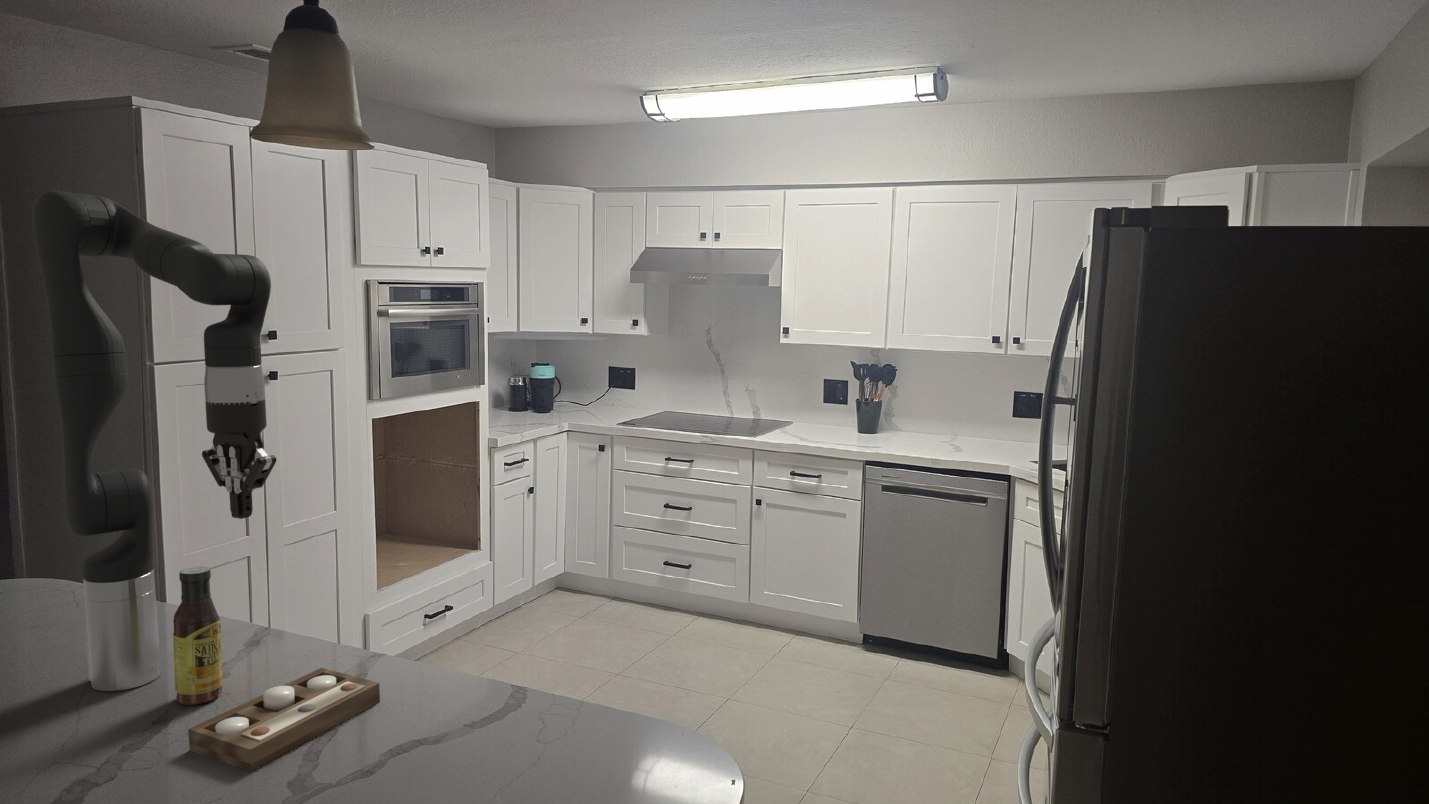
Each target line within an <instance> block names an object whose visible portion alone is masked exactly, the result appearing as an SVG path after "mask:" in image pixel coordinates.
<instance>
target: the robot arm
mask: <svg viewBox="0 0 1429 804" xmlns="http://www.w3.org/2000/svg"><path fill="white" fill-rule="evenodd" d="M32 232H33V238H34V244H35V248H36V252H37V257H38V263H39V267H40V272H41V276H42V277H41V278H42V282H43V286H44V290H45V297H46V305H47V311H48V320H49V331H50V342H51V344H50V345H51V356H52V367H53V377H54V385H55V391H56V397H57V398H56V399H57V405H58V412H59V419H60V428H61V439H62V466H63V468H62V469H63V470H62V471H63V473H62V474H63V497H64V499H63V500H64V510H65V517H66V521H67V525H68V527H69V529H70V531H71V533H72V534H74V535H75V536H77V537H88V536H89V537H91V536H96V535H102V534H109V533H114V532H121V531H122V533H121V534H120V535H119V537H117V539H116V540H114V541H112V542H111V543H110V544H109V545H107V546H105V547H103V548H102V549H100V550H98V551H95V552H94V553H92V554H90V555H88V556H87V557H86V558H85V559H84V560H83V562H82V566H81V571H82V572H81V573H82V581H83V593H84V596H83V597H84V605H85V618H86V619H85V620H86V621H85V623H84V632H85V633H84V634H85V637H84V638H85V647H86V660H87V673H88V681H90V684H91V687H92V688H93V690H95V691H101V692H115V691H117V692H118V691H125V690H130V689H133V688H137V687H140V686H143V685H147V684H148V683H151V682H153V681H154V680H156V679H157V678H158V677H159V676H160V675H161V671H162V670H161V659H160V657H161V656H160V655H161V654H160V641H159V628H158V627H159V626H158V614H157V613H158V612H157V611H158V610H157V599H156V597H157V595H156V586H155V585H156V584H155V583H156V582H155V569H154V537H153V532H154V531H153V530H154V529H153V510H154V509H153V507H154V506H153V504H154V503H153V493H152V485H151V482H150V480H149V478H148V476H147V474H146V473H145V472H144V471H143V470H141V469H138V468H132V469H121V470H120V469H119V470H114V471H105V472H97V473H92V472H93V471H92V465H93V459H94V454H95V450H96V447H97V444H98V441H99V439H100V438H101V436H102V435H101V434H102V433H103V431H104V429H105V427H106V425H107V423H108V422H109V421H110V419H111V418H112V416H113V415H114V413H115V411H116V410H117V408H118V407H119V405H120V404H121V402H122V400H123V398H124V396H125V394H126V392H127V389H128V385H129V373H128V372H129V370H128V361H127V354H126V352H127V351H126V346H125V342H124V339H123V336H122V335H121V333H120V332H119V330H118V329H117V327H116V325H114V323H113V322H112V320H111V319H110V318H109V317H108V315H107V314H106V313H105V312H104V310H103V309H102V308H101V306H100V305H99V304H98V302H97V301H96V299H94V297H93V295H92V294H91V292H90V290H89V288H88V285H87V284H86V280H85V277H84V273H83V270H82V269H83V268H82V266H81V259H80V256H82V257H93V258H95V257H96V258H97V257H98V258H99V257H117V258H118V257H119V258H125V259H131V260H133V261H134V263H135V264H136V266H137V267H138V268H139V269H140V270H142V271H143V272H144V273H145V274H147V275H149V276H151V277H153V278H155V279H158V280H160V281H162V282H164V283H167V284H170V285H172V286H175V287H177V289H179V290H180V291H181V292H182V293H184V295H186V296H187V297H188V298H189V299H191V300H192V301H194V302H197V303H200V304H203V305H208V306H229V310H228V313H227V316H226V318H224V319H223V320H221V321H219V322H216V323H213V324H210V325H208V326H207V327H205V329H204V332H203V351H204V366H205V372H204V381H203V383H204V384H203V385H204V402H205V403H204V404H205V418H206V419H205V420H206V421H205V422H206V429H207V432H209V433H212V434H214V435H213V438H212V446H211V447H210V449H206V450H202V452H201V456H202V459H203V460H204V463H205V464H206V466H207V467H208V470H209V471H210V473H211V475H212V476H213V478H214V480H215V482H216V484H217V486H218V487H224V488H225V489H226V491H227V492H228V493H229V509H230V513H231V517H232V519H233V518H235V519H239V520H240V519H246V518H251V516H252V514H253V491H254V490H255V489H259V488H263V486H264V485H265V483H266V482H267V479H268V477H269V476H270V474H271V472H272V470H273V468H274V467H275V466H276V463H277V457H276V456H275V455H268V453H266V450H264V447H265V444H264V441H263V438H262V435H261V434H262V431H264V430H265V429H266V427H267V408H266V390H265V389H266V386H265V377H264V373H263V365H262V349H261V333H262V329H263V327H264V322H265V317H266V314H267V313H266V312H267V308H268V305H269V302H270V301H269V300H270V296H271V292H272V291H271V290H272V283H271V281H272V279H271V276H270V273H269V270H268V268H267V266H266V265H265V263H264V262H263V261H262V260H261V259H260V258H259V257H257V256H255V255H250V254H231V253H230V254H229V253H214V252H213V251H212V250H211V249H210V248H209V247H208V246H207V245H206V244H203V243H201V242H200V241H197V240H194V239H192V238H189V237H186V236H184V235H180V234H179V233H176V232H173V231H171V230H170V231H169V230H167V229H164V228H161V227H158V226H156V225H154V224H152V223H150V222H148V221H147V220H145V219H143V218H142V217H140V216H138V215H136V214H135V213H134V212H133V211H131V210H129V209H128V208H127V207H124V206H123V205H121V204H120V203H118V202H116V201H114V200H112V199H110V198H107V197H104V196H99V195H94V194H85V193H77V192H70V191H61V190H47V191H44V192H42V193H41V194H39V196H37V198H36V200H35V202H34V205H33V208H32Z"/></svg>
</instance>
